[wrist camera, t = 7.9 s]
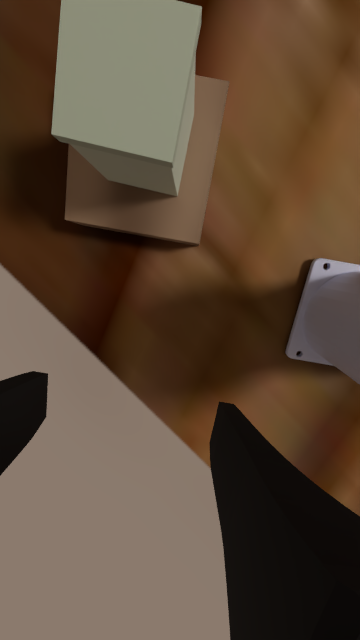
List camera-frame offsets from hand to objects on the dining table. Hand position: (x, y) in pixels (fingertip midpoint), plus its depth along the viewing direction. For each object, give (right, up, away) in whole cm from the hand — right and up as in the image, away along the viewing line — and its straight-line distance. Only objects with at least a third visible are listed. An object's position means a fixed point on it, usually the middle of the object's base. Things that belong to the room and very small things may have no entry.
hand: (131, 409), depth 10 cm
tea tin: (0, +14, +5) cm, 15 cm away
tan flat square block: (0, +15, +8) cm, 16 cm away
